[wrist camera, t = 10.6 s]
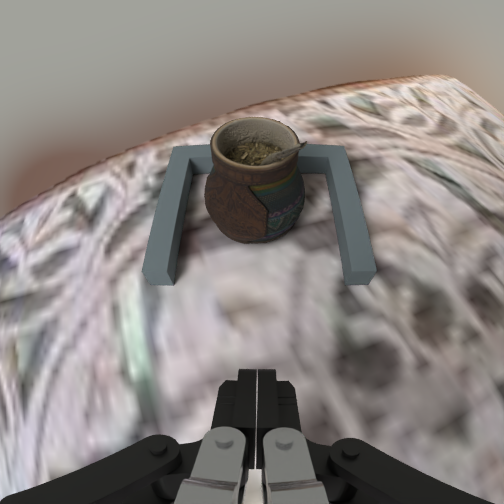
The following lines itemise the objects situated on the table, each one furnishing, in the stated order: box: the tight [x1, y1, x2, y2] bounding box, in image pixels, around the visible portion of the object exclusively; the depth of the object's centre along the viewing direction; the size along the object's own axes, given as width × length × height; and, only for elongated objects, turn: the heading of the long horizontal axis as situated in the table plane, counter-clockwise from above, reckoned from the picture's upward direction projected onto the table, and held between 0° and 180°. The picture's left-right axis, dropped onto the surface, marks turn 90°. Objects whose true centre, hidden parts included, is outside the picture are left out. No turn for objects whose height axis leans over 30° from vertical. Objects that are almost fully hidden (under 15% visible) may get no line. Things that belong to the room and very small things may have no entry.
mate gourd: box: [204, 117, 307, 244], centre depth 21 cm, size 7×8×10 cm
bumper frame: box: [142, 144, 377, 285], centre depth 24 cm, size 16×13×2 cm
